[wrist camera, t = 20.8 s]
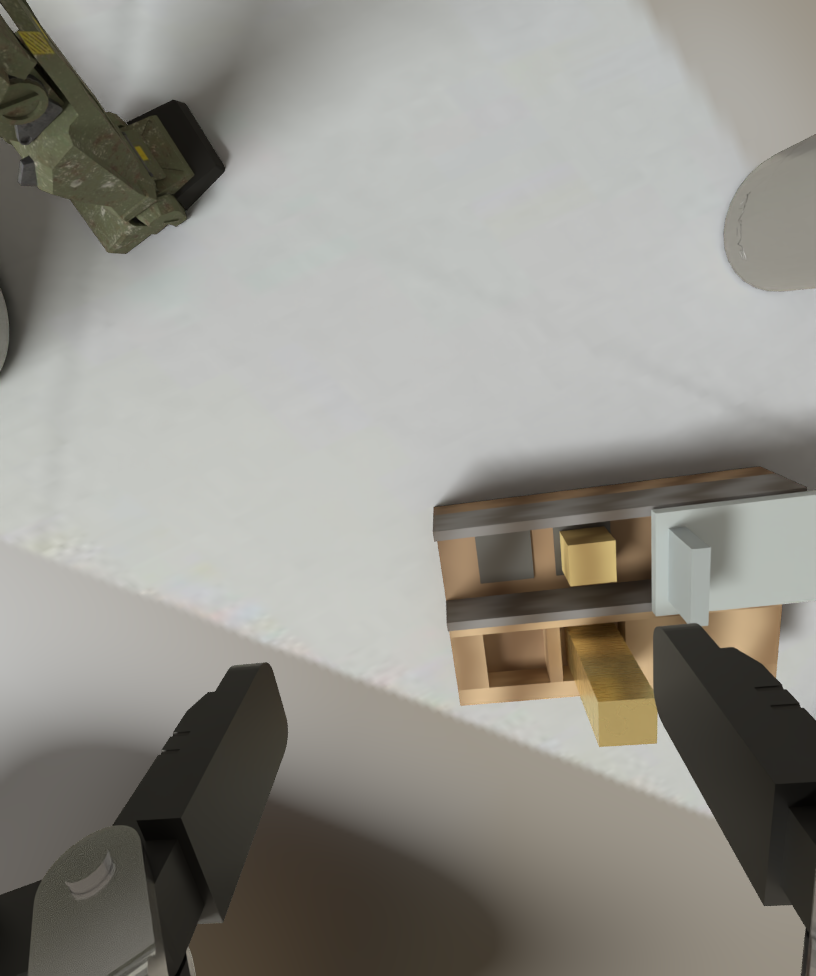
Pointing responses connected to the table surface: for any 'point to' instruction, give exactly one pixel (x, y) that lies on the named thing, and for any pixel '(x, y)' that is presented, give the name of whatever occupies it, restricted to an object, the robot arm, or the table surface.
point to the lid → (733, 555)
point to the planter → (3, 330)
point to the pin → (611, 685)
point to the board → (575, 580)
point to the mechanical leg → (97, 142)
